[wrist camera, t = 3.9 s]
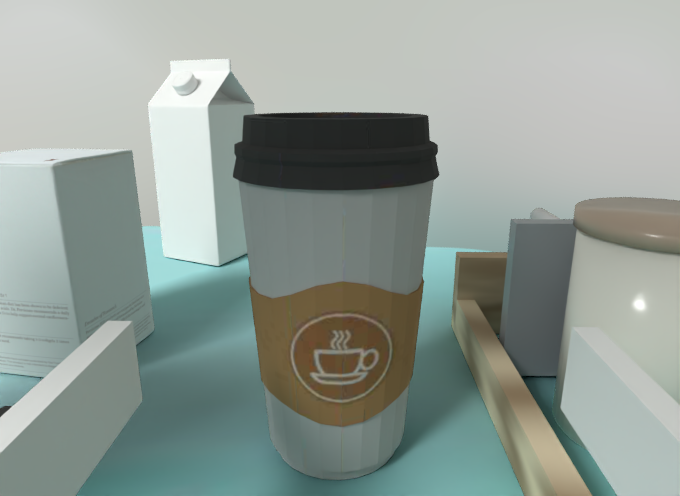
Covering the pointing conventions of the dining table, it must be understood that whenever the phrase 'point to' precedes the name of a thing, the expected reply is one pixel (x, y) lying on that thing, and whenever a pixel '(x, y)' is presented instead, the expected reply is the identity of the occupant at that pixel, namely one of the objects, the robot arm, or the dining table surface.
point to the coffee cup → (336, 278)
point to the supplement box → (68, 254)
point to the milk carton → (199, 161)
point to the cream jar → (626, 287)
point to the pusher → (536, 291)
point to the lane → (506, 380)
